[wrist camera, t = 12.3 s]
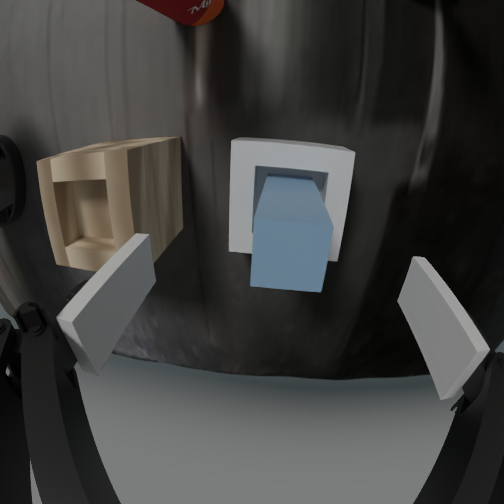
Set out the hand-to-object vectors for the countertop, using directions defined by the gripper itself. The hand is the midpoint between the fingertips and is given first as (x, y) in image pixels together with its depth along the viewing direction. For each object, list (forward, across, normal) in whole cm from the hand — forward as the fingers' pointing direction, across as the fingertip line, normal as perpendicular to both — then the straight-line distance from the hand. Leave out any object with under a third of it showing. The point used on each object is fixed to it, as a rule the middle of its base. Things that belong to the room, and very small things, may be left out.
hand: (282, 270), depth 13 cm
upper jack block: (+16, -15, 0) cm, 22 cm away
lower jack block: (+16, +1, 0) cm, 16 cm away
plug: (+14, +1, 0) cm, 14 cm away
